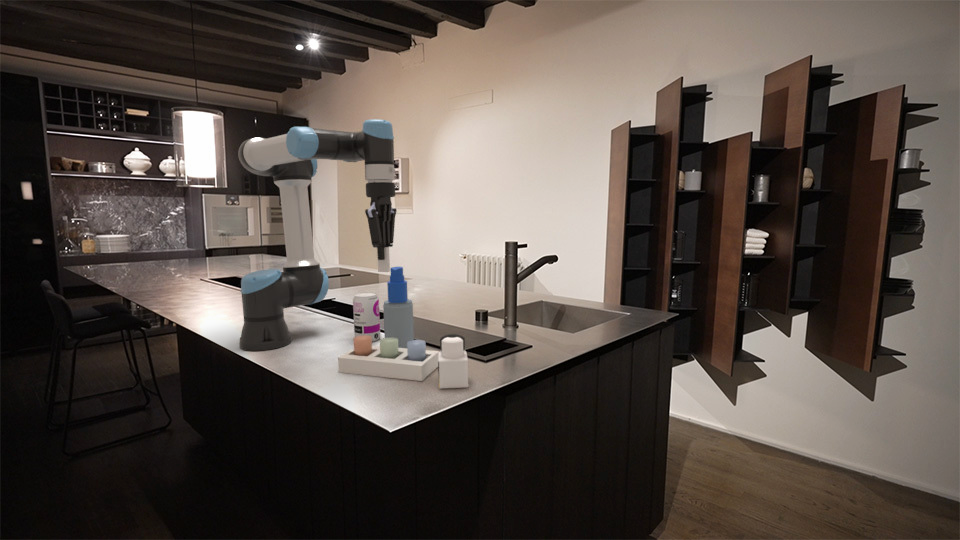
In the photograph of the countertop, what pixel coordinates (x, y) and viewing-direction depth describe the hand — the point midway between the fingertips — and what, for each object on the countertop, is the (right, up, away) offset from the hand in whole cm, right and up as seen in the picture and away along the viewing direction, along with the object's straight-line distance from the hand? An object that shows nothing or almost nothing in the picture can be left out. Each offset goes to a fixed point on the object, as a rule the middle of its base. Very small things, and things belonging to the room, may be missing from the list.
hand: (384, 271), depth 129 cm
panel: (+1, -26, +2) cm, 26 cm away
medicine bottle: (+19, -28, -9) cm, 35 cm away
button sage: (+1, -23, +1) cm, 23 cm away
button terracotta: (-6, -23, +3) cm, 24 cm away
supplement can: (-11, -23, +29) cm, 39 cm away
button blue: (+9, -24, -1) cm, 25 cm away
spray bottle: (+1, -24, +20) cm, 31 cm away
